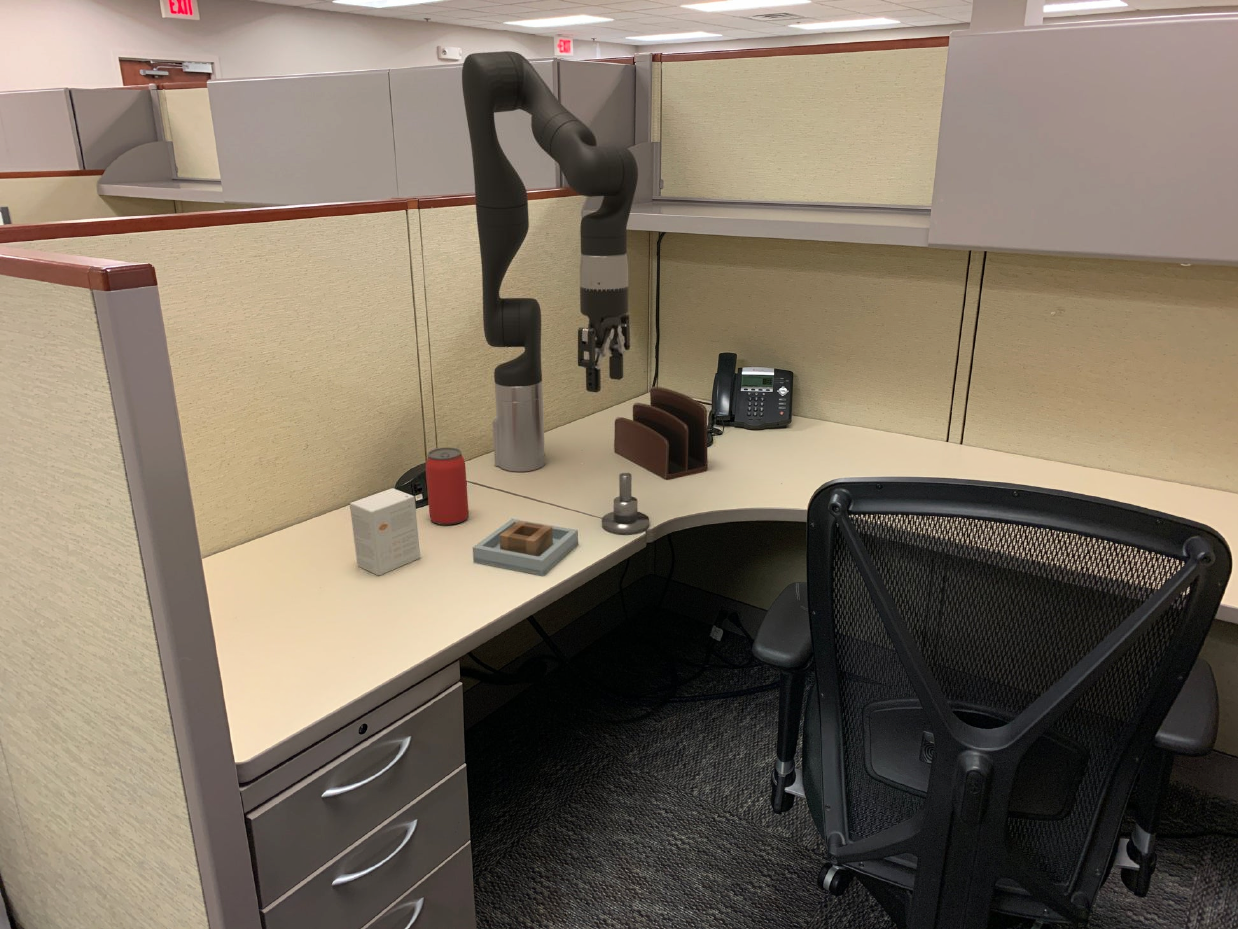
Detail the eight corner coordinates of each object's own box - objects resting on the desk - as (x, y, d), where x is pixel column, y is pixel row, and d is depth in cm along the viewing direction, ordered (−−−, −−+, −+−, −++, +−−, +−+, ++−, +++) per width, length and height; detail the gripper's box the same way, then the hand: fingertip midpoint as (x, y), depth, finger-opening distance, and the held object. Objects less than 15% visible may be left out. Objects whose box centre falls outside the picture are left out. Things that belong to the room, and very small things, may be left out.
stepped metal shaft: (593, 530, 144) (593, 479, 141) (613, 512, 151) (612, 464, 148) (638, 537, 141) (638, 486, 138) (656, 519, 148) (656, 470, 145)
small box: (399, 549, 138) (392, 487, 134) (421, 558, 135) (415, 495, 131) (355, 566, 132) (348, 502, 129) (378, 577, 129) (371, 511, 125)
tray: (473, 562, 133) (472, 547, 132) (512, 532, 144) (512, 518, 143) (543, 575, 129) (542, 560, 128) (578, 544, 139) (577, 530, 138)
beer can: (431, 528, 145) (425, 460, 141) (428, 513, 151) (423, 448, 147) (470, 523, 147) (466, 456, 143) (466, 509, 153) (462, 444, 149)
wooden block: (534, 559, 132) (534, 541, 131) (500, 553, 134) (499, 535, 133) (552, 544, 137) (552, 526, 136) (519, 538, 139) (518, 520, 138)
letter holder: (653, 444, 187) (653, 381, 182) (708, 471, 171) (710, 402, 166) (613, 452, 182) (612, 387, 178) (666, 481, 166) (667, 410, 162)
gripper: (606, 292, 127) (607, 399, 133) (644, 278, 139) (644, 377, 145) (560, 288, 130) (563, 393, 135) (602, 275, 142) (603, 372, 148)
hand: (605, 385), depth 140 cm, fingers open, 8 cm apart
